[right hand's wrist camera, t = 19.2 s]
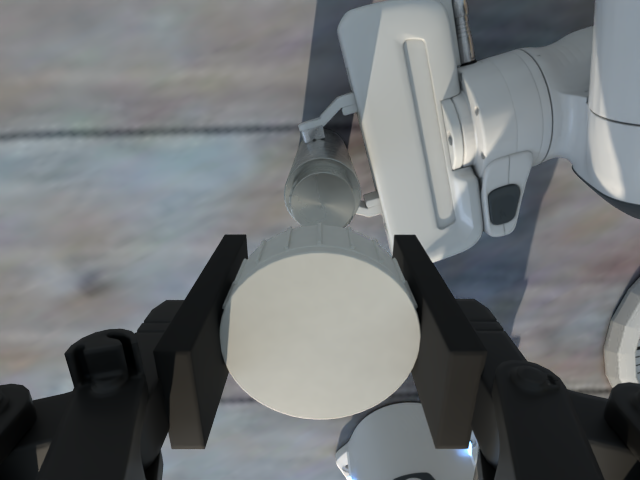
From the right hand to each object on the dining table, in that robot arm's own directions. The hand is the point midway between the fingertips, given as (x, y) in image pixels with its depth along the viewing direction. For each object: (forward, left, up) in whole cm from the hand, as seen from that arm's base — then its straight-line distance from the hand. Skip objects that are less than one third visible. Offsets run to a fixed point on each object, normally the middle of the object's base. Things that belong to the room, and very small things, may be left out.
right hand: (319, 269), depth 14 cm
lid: (0, 0, +4) cm, 4 cm away
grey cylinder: (0, 0, -25) cm, 25 cm away
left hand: (0, -1, -19) cm, 19 cm away
